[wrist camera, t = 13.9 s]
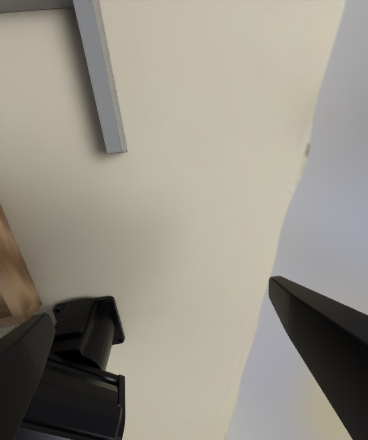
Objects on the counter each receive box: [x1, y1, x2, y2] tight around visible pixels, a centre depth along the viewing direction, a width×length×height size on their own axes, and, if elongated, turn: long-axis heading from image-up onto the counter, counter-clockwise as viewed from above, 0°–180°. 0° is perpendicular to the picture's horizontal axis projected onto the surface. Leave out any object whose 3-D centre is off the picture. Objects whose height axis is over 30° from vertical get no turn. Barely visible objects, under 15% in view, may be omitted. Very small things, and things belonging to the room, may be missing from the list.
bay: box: [0, 0, 128, 153], centre depth 15 cm, size 11×15×2 cm
